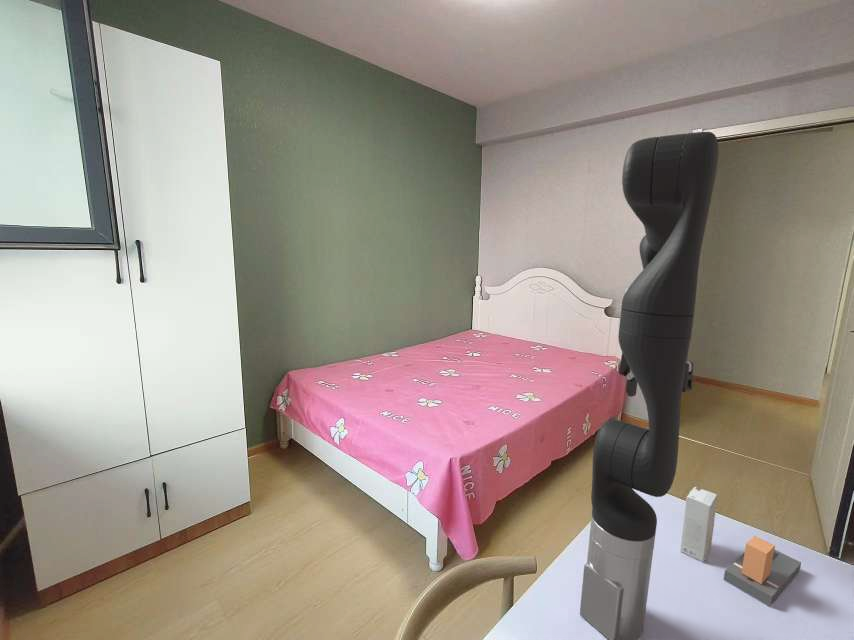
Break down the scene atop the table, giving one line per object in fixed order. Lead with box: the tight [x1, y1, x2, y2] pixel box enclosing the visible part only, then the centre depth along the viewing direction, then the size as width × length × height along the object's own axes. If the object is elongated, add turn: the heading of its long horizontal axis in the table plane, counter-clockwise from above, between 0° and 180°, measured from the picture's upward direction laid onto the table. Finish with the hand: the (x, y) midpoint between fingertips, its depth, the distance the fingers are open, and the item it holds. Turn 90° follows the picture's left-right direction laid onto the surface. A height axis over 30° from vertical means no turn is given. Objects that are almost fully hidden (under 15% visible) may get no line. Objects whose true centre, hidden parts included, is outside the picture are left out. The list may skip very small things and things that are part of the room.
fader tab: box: [741, 535, 776, 584], centre depth 74 cm, size 4×3×6 cm
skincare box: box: [680, 486, 718, 563], centre depth 83 cm, size 6×4×12 cm
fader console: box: [723, 549, 802, 607], centre depth 77 cm, size 15×7×2 cm, turn 123°
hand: (650, 401), depth 88 cm, fingers open, 8 cm apart
